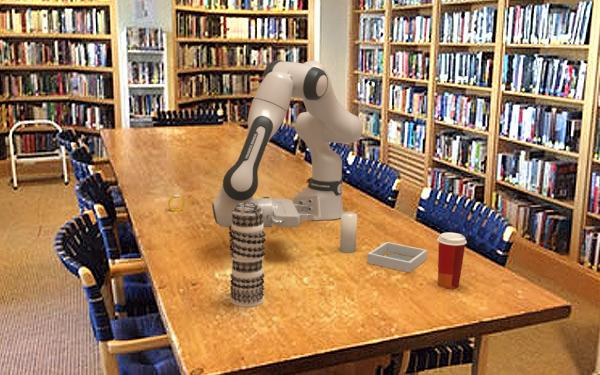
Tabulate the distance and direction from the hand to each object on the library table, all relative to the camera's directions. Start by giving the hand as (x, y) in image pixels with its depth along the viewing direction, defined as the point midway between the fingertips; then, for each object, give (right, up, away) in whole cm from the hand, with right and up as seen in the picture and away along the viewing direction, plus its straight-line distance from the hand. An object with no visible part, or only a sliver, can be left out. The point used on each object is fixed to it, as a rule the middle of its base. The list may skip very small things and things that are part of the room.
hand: (310, 212), depth 192 cm
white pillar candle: (+12, -12, +5) cm, 18 cm away
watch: (-50, -1, +45) cm, 68 cm away
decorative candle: (-17, -21, -34) cm, 43 cm away
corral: (+26, -15, -4) cm, 30 cm away
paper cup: (+38, -19, -21) cm, 47 cm away
